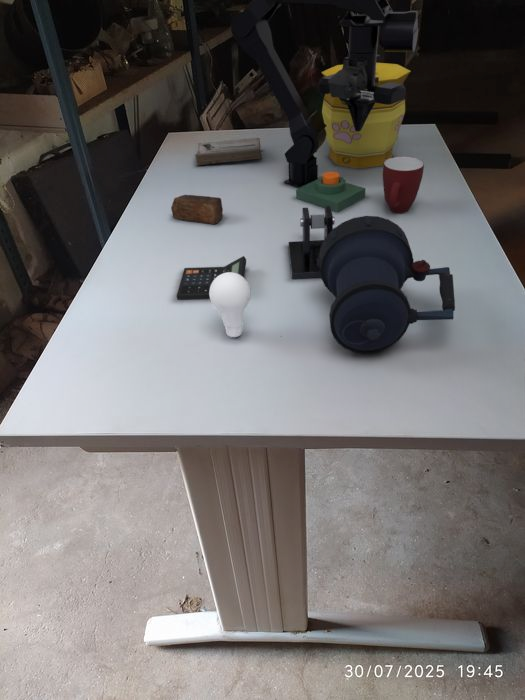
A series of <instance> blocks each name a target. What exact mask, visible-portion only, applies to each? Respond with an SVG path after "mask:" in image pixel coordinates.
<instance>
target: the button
mask: <svg viewBox="0 0 525 700" xmlns="http://www.w3.org/2000/svg"><path fill="white" fill-rule="evenodd" d="M322 177H323V183H324V184H327V185H334V184H337V183H339V177H340V174H339V173H338V172H336V171H328V172H324V173H323V174H322Z"/></svg>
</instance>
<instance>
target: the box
mask: <svg viewBox="0 0 525 700" xmlns="http://www.w3.org/2000/svg"><path fill="white" fill-rule="evenodd" d="M262 152H263V150H262V148H261V139H260V137H251V138H241V139H239V138H238V139H231V140H219V141H209V142H208V141H207V142H199V143H198V144H197V150H196V153H195V160H196V164H197V166H202V165H203V166H205V165H210V164H211V165H213V164H222V163H228V162H229V163H232V162H241V161H247V160H250V161H251V160H259V159H260V160H262V159H263V157H262Z"/></svg>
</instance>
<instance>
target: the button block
mask: <svg viewBox="0 0 525 700" xmlns="http://www.w3.org/2000/svg"><path fill="white" fill-rule="evenodd" d="M364 198H366V187H363V186H360V185H357V184H352V183H349V182H347V180H346V179H345V178H344V177H343V176H339V183H337V184H334V185H327V184H324V183H323V176H320V177H318V179H317V180H315V181H313V182H311V183H309V184H307V185H304V186H302V187H300V188H298V187H297V188H296V189H295V199H297V200H300V201H303V202H305V203H309V204H312V205H315V206H317V207H321V208H323V209H325V207H327V206H330V207H331V211H332V212H335V213H339V212H341V211H343V210H345V209H346V208H348V207H350V206H351V205H353V204H355V203H357V202H360V200H362V199H363V200H364Z"/></svg>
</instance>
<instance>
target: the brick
mask: <svg viewBox="0 0 525 700" xmlns="http://www.w3.org/2000/svg"><path fill="white" fill-rule="evenodd" d="M170 210H171V214H172V217H173V218H174V219H177V220H179V221H185V222H194V223H200V224H209V225H217V224H218V223H219V222H220V220H221V219H223V210H224V209H223V202H222V198H221V197H215V196H207V195H196V194H195V195H194V194H183V195H179V196H177V197H174V199H173V201H172V203H171V207H170Z"/></svg>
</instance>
